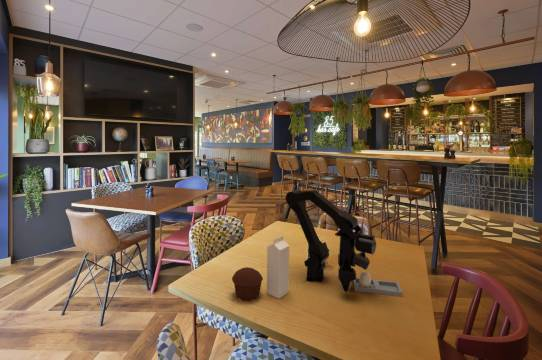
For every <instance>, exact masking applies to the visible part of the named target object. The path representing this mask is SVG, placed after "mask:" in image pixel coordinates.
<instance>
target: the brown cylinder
mask: <svg viewBox="0 0 542 360" xmlns="http://www.w3.org/2000/svg"><path fill="white" fill-rule="evenodd" d="M339 288H340V290H343V291H344V289H343V287H342V284H341V282H340V281H339ZM350 290H352V281H351V282H350V285H349V288H348V291H350Z"/></svg>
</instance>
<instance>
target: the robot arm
mask: <svg viewBox="0 0 542 360" xmlns="http://www.w3.org/2000/svg"><path fill="white" fill-rule="evenodd" d="M284 200H285V201H286V203H287V205H288V207H289V209H291V210H292V211H293V212H294V214H295V215H296V218H297V220H298V223H299V225H300V227H301V230H302V232H303V234H304V237H305V239H306V241H307V245H308V247H307V250H308V252H307V253H308V258H307V259H305V260H304V261H303V262H304V266H305V267H306V278H305V281H307V282H315V283H316V282H317V283H319V282H320V283H322V282H323V280H324V273H325V268H324V267H323V264H324V263H325V261H327V260H328V259H329V256H330V249H329V248H328V246H327V242H326V241H324V242H322V241H321V240H320V239H319V236H318V234H317V231H316V229H315V227H314V225H313V222H312V220H311V218H310V215H309V213H308V210H307V201H310V202H311V203H313V204H314V205H315V206H316V207H317V208H319V210H321V211H322V212H323V213H325V214H326V215H327V216H328V217H330V218H331V219H332V221H333V222H334V225H335V226H336V227H337V228H338V229H339V230H338V231H337V232H335V233H334V236H337V237H339V247H338V248H339V253H338V254H337V264H338V267H339V268H338V271H337V272H338V279H339V283H340V282H341V284H342V287H343V289H344V290H343V289H342V290H343V292H345V293H348V291H349V290H348V288H349V285H350V282H351V283H352V282H353V280H356V278H357V273H356V270H355V267H356V266H357V267H359V268H361V269H363V270H364V271H366V270H367V269H368V268H369V265H370V263H371V261H370V259H369V257H367V256H366V254H367V255H368V254H369V255H374V254H375V253H376V249H377V240H376V238H375V235H374V234H373V235H372V234H365V233H364V231H363V230H362V228H361V226H360V225H359V221H358V219H357V217H356V216H354V215H352V214H351V213H349V212H347V211H345V210H342V209H341V208H338V207H337V206H336V205H335V204H333V203H332V202H331V201H330V200H328V198H326V197H324V195H322V194H321V193H320V192H319V191H318V190H317V189H311V190H310V189H309V190H300V189H295V190H291V191H288V192H287V193H286V195H285V199H284ZM356 251H357V252H359V253H356Z"/></svg>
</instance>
